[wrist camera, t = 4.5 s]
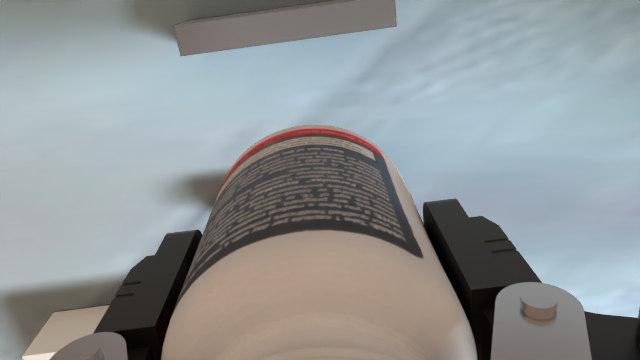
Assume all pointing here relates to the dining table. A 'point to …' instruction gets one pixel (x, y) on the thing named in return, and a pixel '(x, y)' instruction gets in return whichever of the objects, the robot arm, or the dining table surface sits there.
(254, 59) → the dining table surface
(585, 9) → the dining table surface
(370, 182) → the pill bottle
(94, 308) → the port
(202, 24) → the grey blocks
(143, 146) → the dining table surface
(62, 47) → the dining table surface
